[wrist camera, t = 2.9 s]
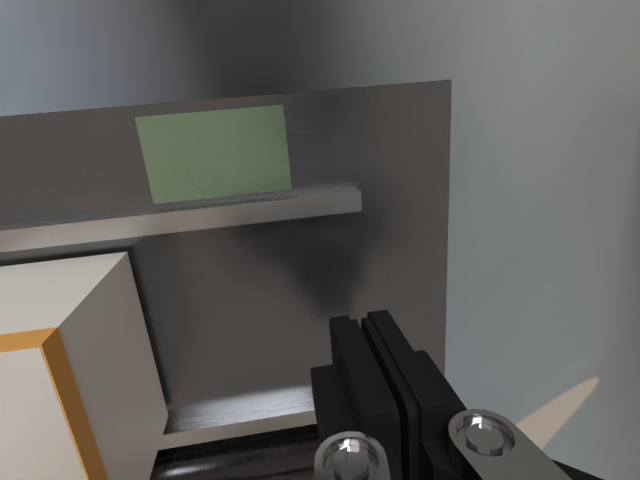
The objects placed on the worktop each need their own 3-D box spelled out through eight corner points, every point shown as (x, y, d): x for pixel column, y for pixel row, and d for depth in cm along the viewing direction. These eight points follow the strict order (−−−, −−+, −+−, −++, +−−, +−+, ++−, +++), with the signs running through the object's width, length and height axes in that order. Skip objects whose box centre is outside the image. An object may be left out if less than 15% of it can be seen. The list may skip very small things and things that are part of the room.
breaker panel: (405, 85, 16) (471, 76, 11) (408, 385, 20) (455, 474, 15) (-307, 144, 13) (-640, 167, 8) (-120, 470, 18) (-266, 609, 13)
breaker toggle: (128, 249, 12) (41, 344, 7) (169, 416, 14) (123, 576, 9) (-22, 267, 11) (-220, 380, 7) (43, 436, 13) (-75, 615, 9)
